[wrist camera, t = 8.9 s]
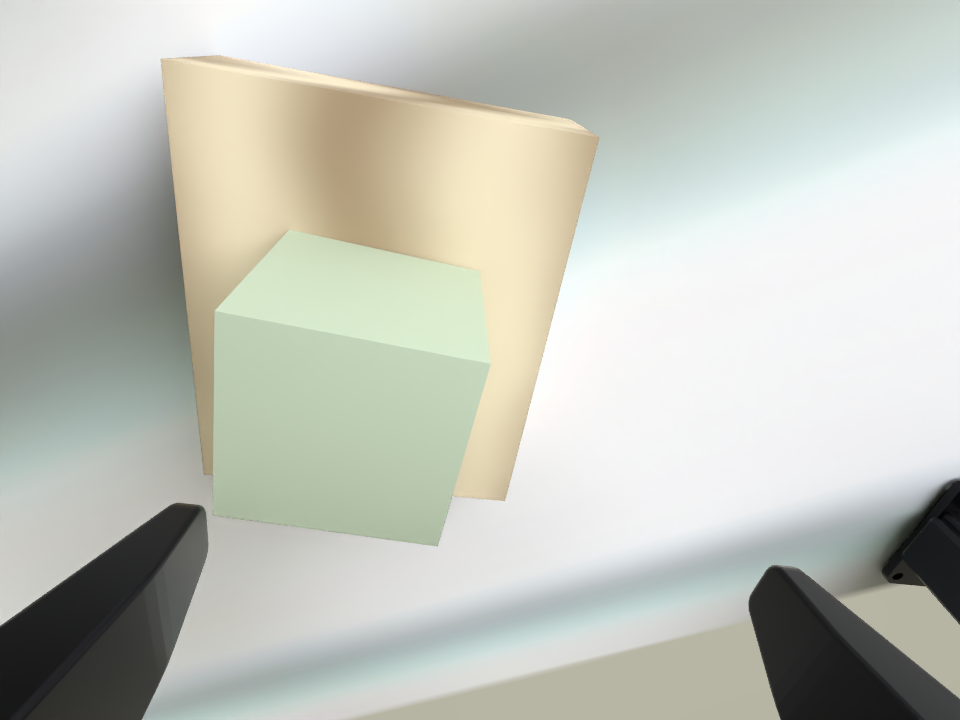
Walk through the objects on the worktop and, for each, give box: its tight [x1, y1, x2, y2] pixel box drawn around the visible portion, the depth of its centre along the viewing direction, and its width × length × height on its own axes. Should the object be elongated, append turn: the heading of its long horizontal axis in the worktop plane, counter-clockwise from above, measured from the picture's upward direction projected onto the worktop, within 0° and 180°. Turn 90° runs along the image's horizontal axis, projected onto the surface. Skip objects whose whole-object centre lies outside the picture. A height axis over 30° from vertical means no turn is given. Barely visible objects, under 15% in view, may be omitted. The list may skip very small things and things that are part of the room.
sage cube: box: [213, 230, 491, 546], centre depth 13 cm, size 5×5×5 cm
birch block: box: [161, 55, 599, 501], centre depth 17 cm, size 10×12×4 cm
